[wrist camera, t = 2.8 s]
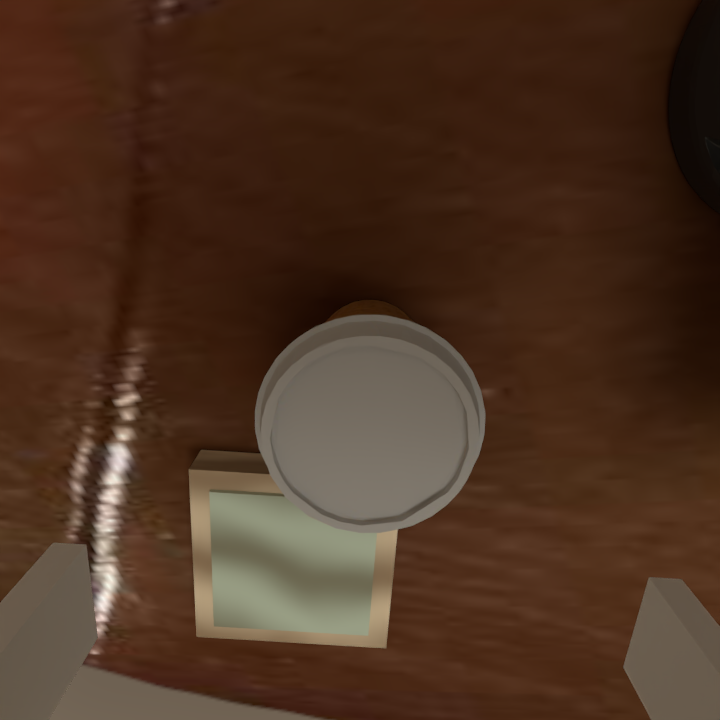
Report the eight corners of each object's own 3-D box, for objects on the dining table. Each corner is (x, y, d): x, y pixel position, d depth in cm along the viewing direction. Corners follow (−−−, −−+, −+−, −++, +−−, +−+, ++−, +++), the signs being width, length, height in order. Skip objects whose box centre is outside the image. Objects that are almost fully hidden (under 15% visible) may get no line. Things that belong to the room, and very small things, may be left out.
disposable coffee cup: (305, 429, 34) (272, 553, 22) (278, 282, 31) (225, 339, 19) (453, 412, 33) (498, 531, 22) (441, 261, 30) (485, 307, 19)
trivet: (201, 449, 34) (187, 471, 31) (399, 462, 34) (402, 485, 32) (207, 608, 38) (195, 640, 36) (384, 619, 38) (386, 651, 36)
